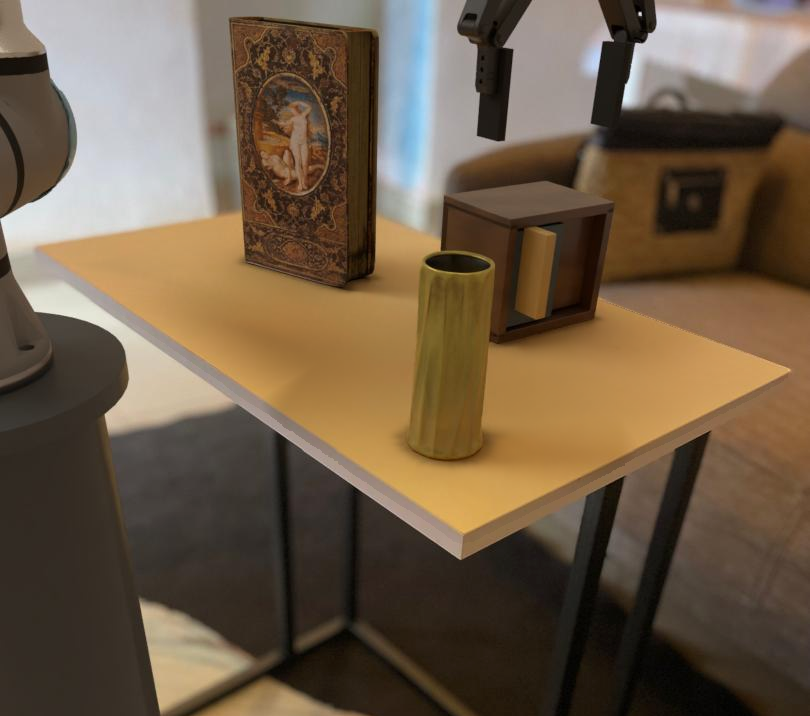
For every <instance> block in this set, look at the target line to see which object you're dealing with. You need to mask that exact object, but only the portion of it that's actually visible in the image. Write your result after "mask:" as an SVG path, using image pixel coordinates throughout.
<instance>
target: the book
mask: <svg viewBox="0 0 810 716" xmlns="http://www.w3.org/2000/svg"><path fill="white" fill-rule="evenodd" d="M228 23H229V24H228V27H229V40H230V56H231V71H232V84H233V85H232V86H233V101H234V117H235V129H236V130H235V131H236V143H237V159H238V174H239V175H238V176H239V191H240V204H241V205H240V206H241V218H242V233H243V234H242V235H243V249H244V262H245V263H247V264H251V265H254V266H258V267H262V268H266V269H270V270H273V271H276V272H280V273H283V274H287V275H290V276H294V277H298V278H301V279H305V280H309V281H312V282H316V283H320V284H324V285H328V286H333V287H337V288H343V287H346V286H347V285H348V282H349V281H351V280H353V279H357V278H364V277H369V276H371V275H373V273H374V271H375V267H376V250H377V249H376V247H377V195H378V194H377V193H378V192H377V191H378V189H377V187H378V185H377V184H378V137H379V136H378V135H379V132H378V130H379V129H378V128H379V80H380V79H379V73H380V72H379V69H380V36H379V33H378V31H377V30H376V29H374V28H369V27H359V26H350V25H344V24H343V25H342V24H335V23H334V24H332V23H325V22H315V21H308V20H307V21H306V20H298V19H297V20H296V19H288V18H278V17H270V16H233V17H229V18H228Z"/></svg>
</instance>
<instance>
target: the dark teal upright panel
mask: <svg viewBox="0 0 810 716" xmlns="http://www.w3.org/2000/svg"><path fill="white" fill-rule="evenodd" d="M563 231H564V223H563V222H555V223H549V224H544V225H538V226H532V227H527V228H521V229H518V230H517V238H516V247H515V255H514V264H513V272H512V281H511V289H510V298H509V307H508V315H507V324H506V328H507V327H511V326H515V325H519V324H523V323H526V322H530V321H534V320H538V319H542V318H546V317H550V316H551V312H552V305H553V298H554V291H555V285H556V278H557V271H558V264H559V258H560V251H561V244H562V237H563Z"/></svg>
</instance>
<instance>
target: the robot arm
mask: <svg viewBox="0 0 810 716" xmlns="http://www.w3.org/2000/svg"><path fill="white" fill-rule="evenodd" d="M532 2H533V0H465V3H464V6H463V9H462V11H461V14H460V16H459V19H458V21H457V25H456V31H457V33H458V34H459V36H461V37H466V38H467V40H468V42H469V43H470V44H473V45H476V48H477V51H476V52H477V54H476V66H475V79H474V80H475V81H474V87H475V92H476V93H479V99H478V100H479V101H478V114H477V125H476V126H477V127H476V137H480V138H483V139H487V140H490V141H494V142H499V143H500V142H506V136H507V135H506V133H507V124H508V114H509V103H510V93H511V83H512V81H511V79H512V72H513V71H512V70H513V60H514V51H515V50H514V48H511V47H504V46H505V45H506V43H507V42H508V40H509V38H510V37H511V35H512V34H513V33H514V31H515V30H516V29H515V28H516V27H517V26H518V25H519V22H520V21H521V19H522V18H523V16H524V14H525V13H526V11H527V10H528V9H529V6H530V5H531V3H532ZM597 2H598V4H599V7H600V10H601V12H602V13H601V14H602V15H603V18H604V21H605V24H606V27H607V29H608V32H609V35H610V38H611V39H612V40H603V41H602V43H601V48H600V49H601V50H600V56H599V63H598V69H597V76H596V84H595V90H594V97H593V104H592V110H591V117H590V125H594V126H599V127H604V128H606V129H607V128H608V129H612V130H614V129H619V126H620V121H621V113H622V108H623V103H624V96H625V90H626V85H627V84H628V82H629V80H630V76H631V69H632V64H633V59H634V53H635V46H636V44H641V45H643V44H645V43H646V42H647V40H648V38H649V34H653V33H654V32H655V30H656V28H657V24H658V20H657V12H656V11H657V10H656V2H655V0H597ZM640 14H641V15H640ZM77 129H78V128H77V123H76V117H75V116H74V112H73V110H72V107H71V104H70V101H69V99H68V98H67V96H66V95H65V94H64V92H63V91H62V90H61V89H60V88H59V87H58V86H57V85H56V83H55V81H54V79H52V77H51V73H50V65H49V60H48V53H47V47H46V44H44V43H43V42H42V41H41V40H40V39H39V38H38V37H37V36H36V35H35V34H34V33H33V32H32V31H31V30H30V29H29V28H28V26H27V25H26V24H25V21H24V16H23V8H22V3H21V0H0V395H3V394H6V393H9V392H12V391H15V390H17V389H20V388H22V387H24V386H27V385H29V384H30V383H32V382H34V381H36V380H37V379H39V378H40V377H41V376H43V375H44V374H45V373H46V372H47V371H48V370H49V369H50V368H51V366H52V364H53V361H54V356H53V351H52V347H51V342H50V340H49V337H48V334H47V332H46V330H45V328H44V327H43V325H42V323H41V321H40V320H39V318H38V316H37V315H36V313H35V312H36V311H35V309H34V308H33V306H32V305H31V302H30V301H29V300H28V298H27V296H26V294H25V292H24V291H23V289H22V287H21V286H20V285H19V283H18V281H17V278H16V277H15V275H14V272H13V268H12V265H11V264H12V263H11V260H10V256H9V252H8V246H7V243H6V238H5V234H4V229H3V226H2V221H1V219H3V218H5V217H6V216H9V215H11V214H12V213H13V212H15V211H17V210H19V209H20V208H23V207H24V206H26V205H27V204H32V203H35V202H38V201H40V200H42V199H43V198H44V197H46V196H48V195H49V194H50V193H51V192H52V191H53V189H55V188H56V187H57V186H58V184H60V183H61V182H62V181H63V180H64V178H65V177H66V175H67V174H68V173H69V171H70V169H71V168H72V166H73V163H74V160H75V157H76V153H77V147H78V131H77Z"/></svg>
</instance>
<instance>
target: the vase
mask: <svg viewBox="0 0 810 716" xmlns="http://www.w3.org/2000/svg"><path fill="white" fill-rule="evenodd" d="M419 266H420V267H419V280H418V281H419V282H418V298H417V299H418V300H417V301H418V302H417V305H418V306H417V323H416V340H415V341H416V343H415V353H414V365H413V377H412V392H411V403H410V413H409V420H408V425H407V430H406V433H405V440H406V443H407V444H408V446H409V447H410V448H411V449H412V450H413V451H415V452H416V453H418V454H420V455H422V456H425V457H428V458H431V459H436V460H446V461H447V460H450V461H452V460H459V459H464V458H467V457H470V456H472V455H474V454H476V453H477V452H478V451H479V450H480V449H481V448H482V446H483V444H484V443H483V442H484V440H483V439H484V438H483V432H482V431H483V430H482V424H483V423H482V422H483V414H484V406H485V405H484V403H485V394H486V382H487V381H486V380H487V371H488V360H489V359H488V358H489V357H488V356H489V347H490V345H489V344H490V340H489V335H490V320H491V309H492V300H493V291H494V277H495V263H494V261H493V260H491V259H490V258H488V257H485V256H483V255H480V254H476V253H471V252H466V251H440V250H439V251H434V252H431V253H428V254H426V255H424V256H423V257H422V258H421V261H420V265H419Z"/></svg>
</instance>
